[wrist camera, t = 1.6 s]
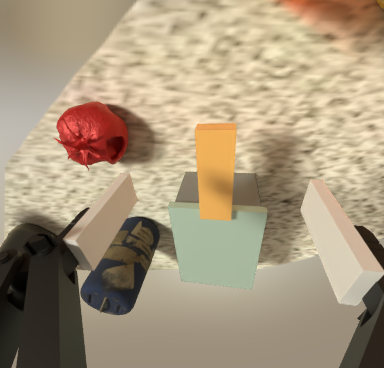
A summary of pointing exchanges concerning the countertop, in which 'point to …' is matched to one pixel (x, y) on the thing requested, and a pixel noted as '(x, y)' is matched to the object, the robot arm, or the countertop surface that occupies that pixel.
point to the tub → (242, 189)
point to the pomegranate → (92, 134)
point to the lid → (217, 218)
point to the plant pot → (381, 3)
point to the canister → (122, 268)
